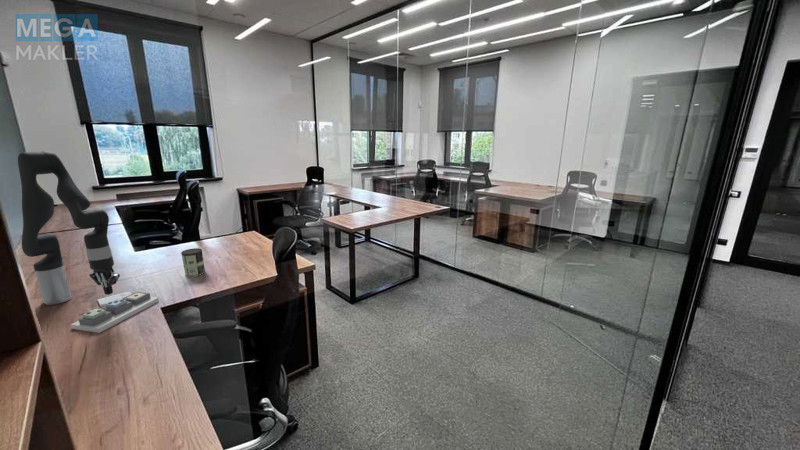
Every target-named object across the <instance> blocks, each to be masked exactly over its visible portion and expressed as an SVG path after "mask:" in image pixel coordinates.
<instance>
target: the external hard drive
mask: <svg viewBox="0 0 800 450" xmlns="http://www.w3.org/2000/svg"><path fill="white" fill-rule="evenodd" d="M131 294H133V293H132V292H131V291H125V292H121V293H118V294H113V295H110V296H106V297H102V298H98V299H97V300H96V301H97V303H98V305H99V307H101V308H103V307H105V306H106V304H107V303H109V302H111V301H113V300H116V299H122V298H124V297H127V296H129V295H131Z"/></svg>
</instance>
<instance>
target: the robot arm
mask: <svg viewBox="0 0 800 450" xmlns="http://www.w3.org/2000/svg"><path fill="white" fill-rule="evenodd" d="M17 167H18V172H19V178H20V183H21V212H22V223H23V224H22V234H21V249H22V252H23V254H24V255H25V256H27V257H30V258H33V257H39V256H43V255H45V256H44V257H43V258H42V259H40V260H38V261H37V262H35V263H34V264H33V269H34V273H35V276H36V280H37V282H38V285H37V286H38V289H39V292H40V296H41V299H42V302H43V303H44V305H45V304H46V306H52V305H57V304H63V303H64V302H65V303H66V302H68V301H69V300H71V299H72V298H73V296H72V293H71V290H70V289H71V288H70V286H69V282H68V277H67V274H66V270H65V267H64V263H63V256H62V252H61V247H60V241H59V239H58V237H57V235H55V234H54V233H50V232H49V233H43V234H39V233H40V231H41V230H42V229H43V227H44V226H45V225H47V223H48V222H50V220H51V219H52V217H53V216H54V213H55V201H54V199H53V197H52V195H50V193H48V192H47V191H46V190H45V189H43V188H42V187H41V185H40V184H39V183H38V181H37V176H38V175H39V176H40V175H49V174H53V175H55V176H56V178H57V186H56V195H57V197H58V199H59V200H60V202H62V204H63V205H64V206H65V207H66V208H67V210H68V212H69V214H70V216H71V219H72V222H73V225H74V226H75V227H77V228H78V229H82V230H86V229H91V228H94V229H93V230H92V231H90V232H88V233H87V234H85V235H83V240H84V245H85V248H86V249H85V250H86V256H87V259H88V264H89V268H90V269H91V270H93V272H92V273H90V274H89V277H90V278H91V279H92V280H93V281H94V283H96V285H98V286H101V287H102V289H103V292H104V295H112V294H113V292H114V290H113V285H116V284H117V282H118V280H119V279H120V276H121V275H120V274H119V273H115V270H114V268H113V267H114V265H115V262H114V257H113V254H112V249H111V247H110V242H109V239H108V231H109V230H108V229H109V222H110V220H109V219H110V218H109V214H108V213H107V212H106V210H104V209H101V208H95V209H90V210H88V209H89V208H90V207H91V202H90V200H89V199H88V198H87V197H86V196H85V195H84V193H83V192H82V191H81V190H80V189H79V188H78V187H77V185H76V183H75V181H74V180H73V179H72V176H71V175H70V172H69V171H68V170H67V168H66V166H65V164H63V162H62V160H61V159H60V157H59V156H58V155H57V154H55V152H53V151H49V150H48V151H47V150H37V151H23V152H20V153H19V154H18V156H17Z"/></svg>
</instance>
